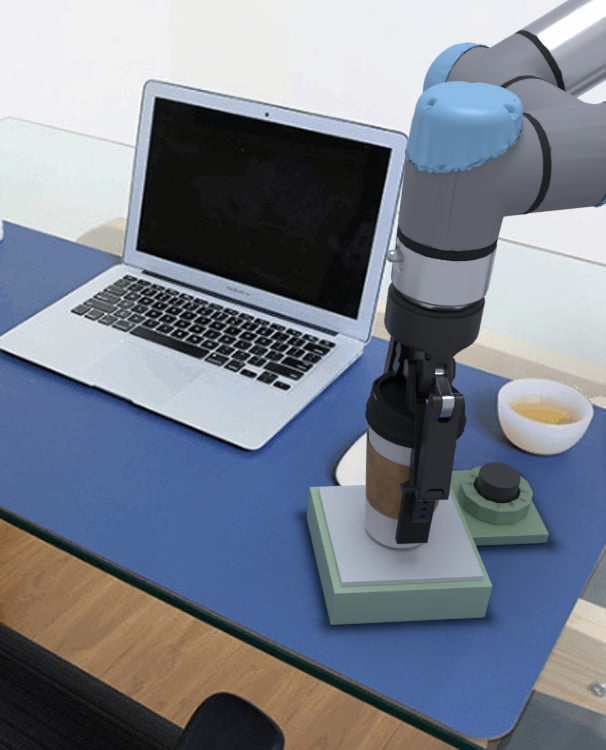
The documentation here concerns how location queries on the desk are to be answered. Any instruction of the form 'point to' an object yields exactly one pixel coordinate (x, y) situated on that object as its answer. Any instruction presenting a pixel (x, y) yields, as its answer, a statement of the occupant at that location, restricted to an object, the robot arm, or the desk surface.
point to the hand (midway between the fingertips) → (400, 508)
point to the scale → (394, 564)
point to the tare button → (498, 482)
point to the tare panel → (498, 513)
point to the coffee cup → (390, 456)
